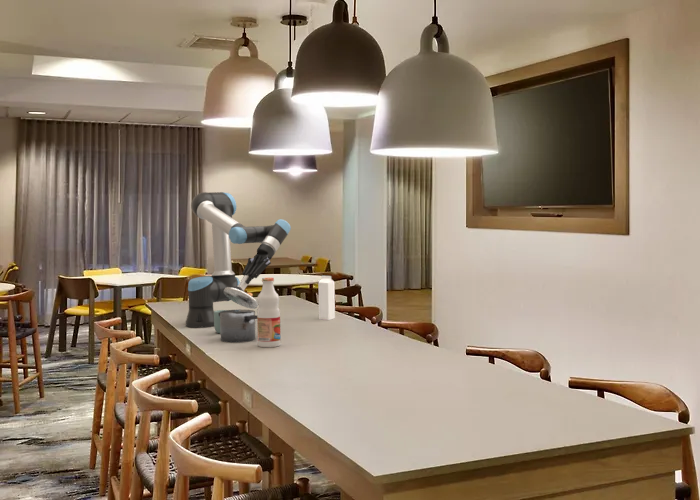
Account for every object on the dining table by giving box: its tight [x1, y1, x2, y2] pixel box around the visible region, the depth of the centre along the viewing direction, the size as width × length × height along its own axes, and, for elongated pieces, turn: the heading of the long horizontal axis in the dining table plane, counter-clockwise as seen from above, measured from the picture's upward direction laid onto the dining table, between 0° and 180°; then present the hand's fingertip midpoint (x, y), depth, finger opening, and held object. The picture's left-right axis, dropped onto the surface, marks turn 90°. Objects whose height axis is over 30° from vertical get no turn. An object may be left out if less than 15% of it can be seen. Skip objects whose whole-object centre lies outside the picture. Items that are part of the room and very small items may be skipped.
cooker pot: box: [219, 309, 257, 343], centre depth 332 cm, size 15×20×12 cm
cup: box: [213, 309, 227, 334], centre depth 350 cm, size 8×8×10 cm
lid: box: [224, 286, 259, 310], centre depth 333 cm, size 16×16×3 cm
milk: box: [317, 275, 336, 321], centre depth 388 cm, size 6×6×22 cm
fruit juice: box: [256, 277, 282, 348], centre depth 315 cm, size 9×9×28 cm
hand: (240, 288), depth 332 cm, fingers closed, pressing on lid
